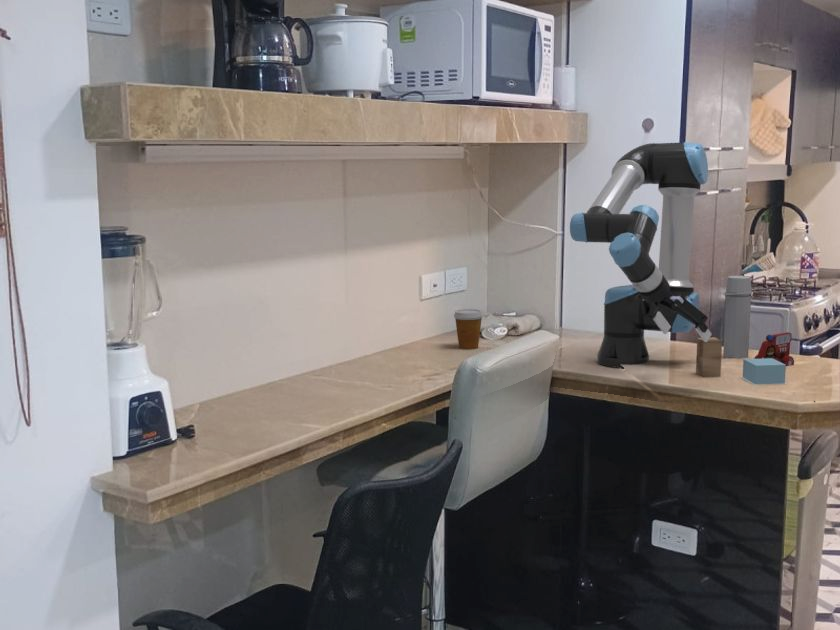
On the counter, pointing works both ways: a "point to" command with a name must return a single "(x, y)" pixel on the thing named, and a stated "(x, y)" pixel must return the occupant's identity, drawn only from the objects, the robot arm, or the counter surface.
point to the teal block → (764, 371)
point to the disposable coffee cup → (468, 327)
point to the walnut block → (709, 357)
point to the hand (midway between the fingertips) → (687, 334)
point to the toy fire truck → (777, 348)
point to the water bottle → (736, 317)
